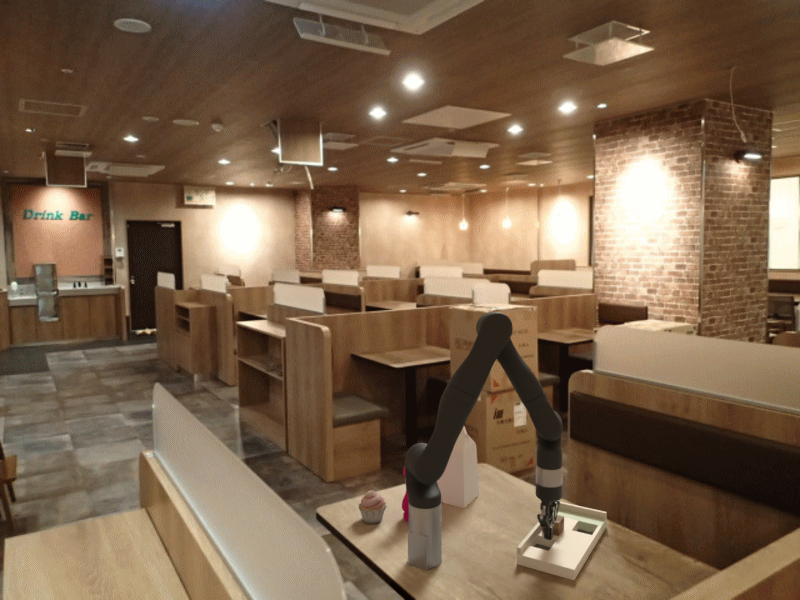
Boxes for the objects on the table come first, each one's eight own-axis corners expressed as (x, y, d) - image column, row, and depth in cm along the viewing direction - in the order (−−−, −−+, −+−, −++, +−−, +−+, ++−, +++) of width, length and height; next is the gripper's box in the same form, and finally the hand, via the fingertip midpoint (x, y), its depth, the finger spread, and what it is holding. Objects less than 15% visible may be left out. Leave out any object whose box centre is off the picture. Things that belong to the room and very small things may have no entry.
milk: (479, 495, 218) (478, 423, 215) (464, 508, 209) (464, 432, 206) (448, 488, 225) (448, 418, 222) (433, 500, 215) (432, 427, 212)
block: (558, 536, 183) (558, 523, 182) (542, 531, 185) (542, 519, 185) (564, 529, 187) (564, 516, 186) (547, 525, 190) (548, 512, 189)
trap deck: (574, 580, 165) (574, 562, 165) (517, 564, 174) (517, 547, 173) (606, 527, 194) (606, 512, 193) (555, 515, 202) (556, 500, 202)
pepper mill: (415, 526, 197) (414, 465, 194) (397, 519, 201) (396, 460, 199) (428, 517, 202) (427, 458, 200) (410, 511, 207) (409, 453, 204)
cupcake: (391, 523, 199) (390, 493, 198) (363, 528, 196) (362, 498, 194) (381, 510, 208) (380, 482, 206) (354, 516, 204) (353, 486, 203)
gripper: (554, 492, 170) (553, 552, 172) (569, 475, 181) (568, 531, 183) (528, 486, 174) (527, 545, 176) (544, 470, 185) (543, 525, 187)
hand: (548, 538), depth 180 cm, fingers closed
